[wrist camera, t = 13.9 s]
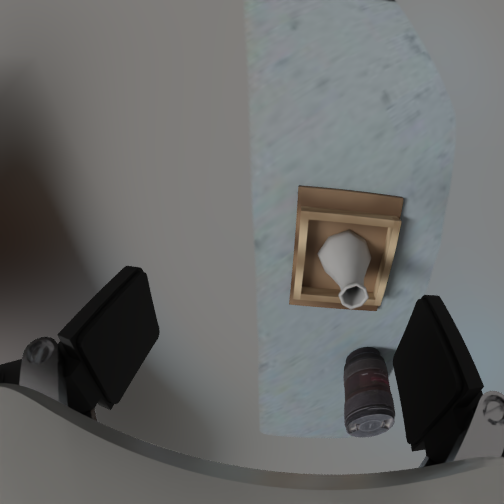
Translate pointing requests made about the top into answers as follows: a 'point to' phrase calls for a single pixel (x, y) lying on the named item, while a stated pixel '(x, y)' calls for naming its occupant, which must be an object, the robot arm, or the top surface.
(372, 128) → the top surface
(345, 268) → the flask
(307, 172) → the top surface
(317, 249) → the shaker holder
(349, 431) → the camera lens
